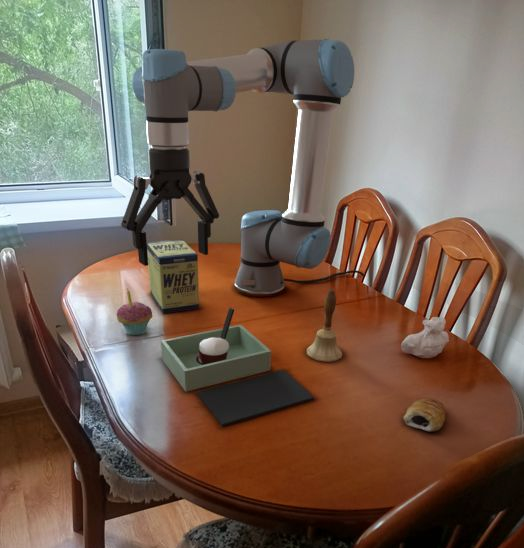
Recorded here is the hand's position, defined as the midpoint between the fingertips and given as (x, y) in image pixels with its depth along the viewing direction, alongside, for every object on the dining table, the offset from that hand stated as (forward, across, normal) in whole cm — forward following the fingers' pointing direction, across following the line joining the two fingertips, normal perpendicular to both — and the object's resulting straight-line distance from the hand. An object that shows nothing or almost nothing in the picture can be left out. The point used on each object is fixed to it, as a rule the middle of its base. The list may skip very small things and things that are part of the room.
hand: (174, 258), depth 101 cm
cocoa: (+23, -5, +8) cm, 25 cm away
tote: (+23, -5, +8) cm, 25 cm away
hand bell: (+23, -28, +17) cm, 41 cm away
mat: (+23, -4, +23) cm, 33 cm away
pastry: (+23, -26, +47) cm, 59 cm away
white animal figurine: (+23, -48, +31) cm, 62 cm away
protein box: (+23, -14, -29) cm, 40 cm away
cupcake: (+23, +3, -17) cm, 29 cm away
